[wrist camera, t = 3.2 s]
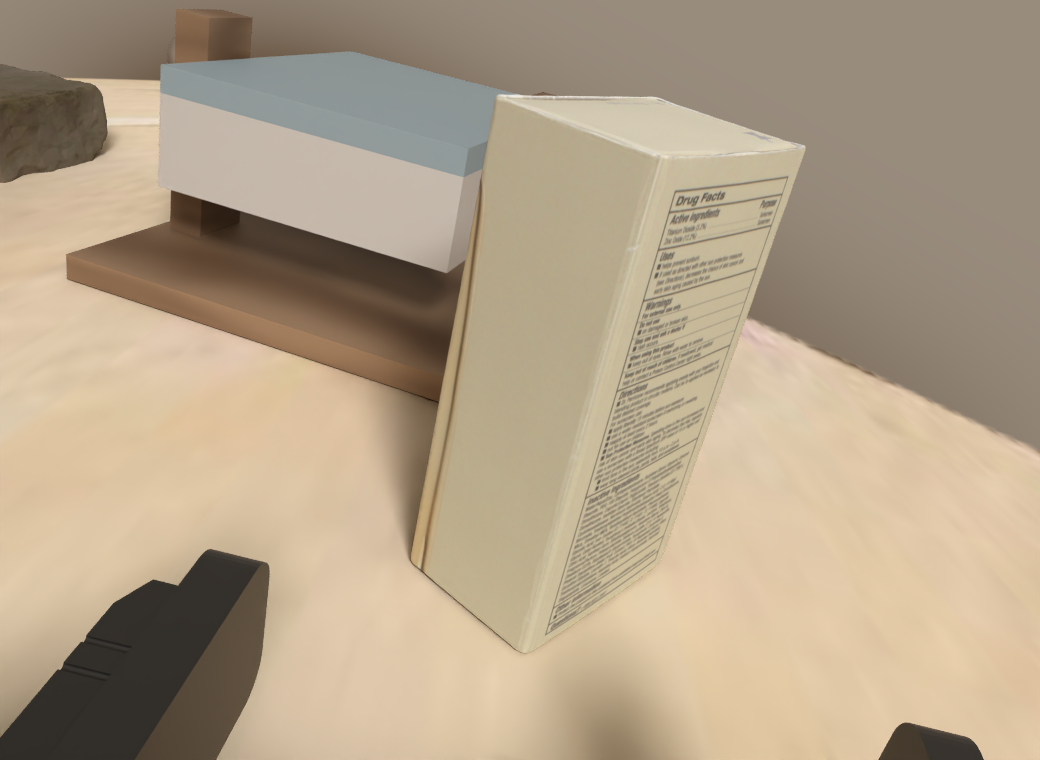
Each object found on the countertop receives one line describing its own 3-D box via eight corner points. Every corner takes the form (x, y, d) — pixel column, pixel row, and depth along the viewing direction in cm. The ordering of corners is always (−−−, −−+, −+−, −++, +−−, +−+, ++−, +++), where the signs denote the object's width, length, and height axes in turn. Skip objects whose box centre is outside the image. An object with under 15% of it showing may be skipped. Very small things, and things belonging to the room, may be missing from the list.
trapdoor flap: (446, 273, 31) (468, 148, 29) (158, 186, 33) (160, 64, 31) (552, 197, 44) (572, 108, 42) (342, 138, 46) (351, 51, 44)
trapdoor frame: (480, 416, 30) (540, 131, 26) (60, 276, 34) (52, 1, 29) (594, 275, 47) (642, 87, 43) (307, 191, 50) (324, 8, 46)
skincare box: (551, 492, 27) (655, 94, 22) (667, 570, 25) (816, 144, 19) (398, 566, 22) (484, 85, 17) (524, 670, 20) (668, 148, 15)
